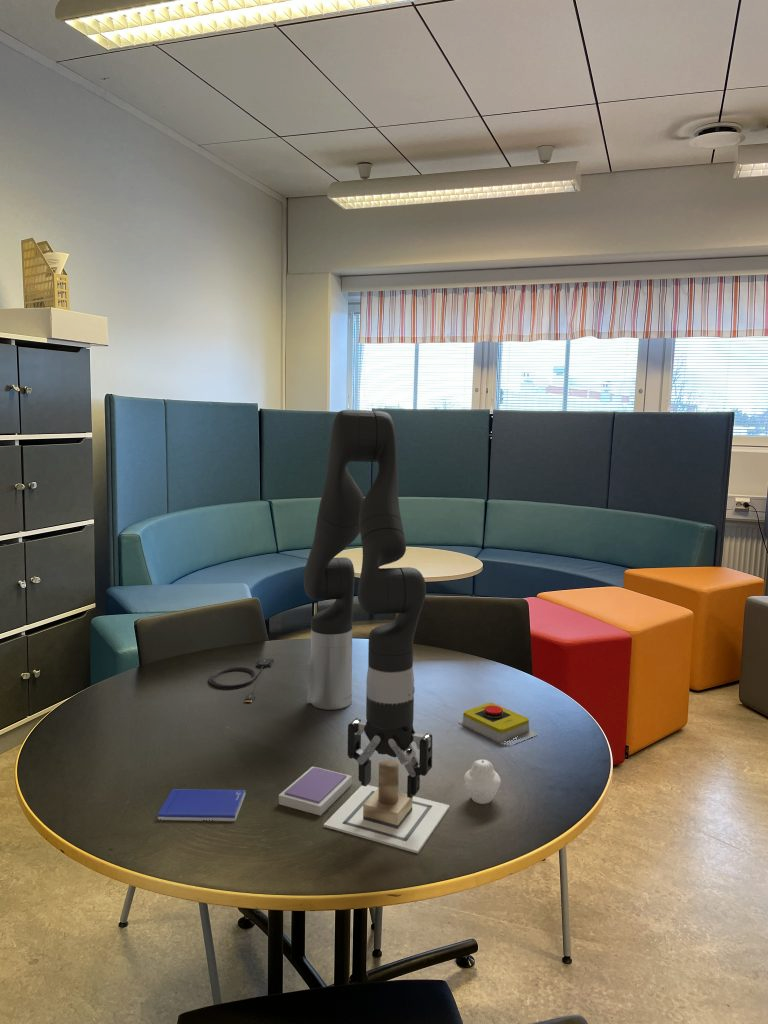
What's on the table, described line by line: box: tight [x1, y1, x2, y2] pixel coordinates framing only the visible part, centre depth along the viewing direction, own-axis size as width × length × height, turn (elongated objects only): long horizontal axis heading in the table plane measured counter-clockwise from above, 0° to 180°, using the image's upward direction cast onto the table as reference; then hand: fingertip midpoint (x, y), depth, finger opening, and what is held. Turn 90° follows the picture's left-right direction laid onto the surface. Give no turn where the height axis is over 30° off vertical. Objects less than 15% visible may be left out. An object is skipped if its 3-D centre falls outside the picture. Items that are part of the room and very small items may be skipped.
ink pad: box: [278, 766, 353, 816], centre depth 121 cm, size 8×11×2 cm
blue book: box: [157, 788, 246, 822], centre depth 117 cm, size 2×8×12 cm
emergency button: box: [457, 702, 538, 746], centre depth 148 cm, size 9×4×15 cm
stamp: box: [363, 759, 413, 829], centre depth 114 cm, size 6×6×9 cm
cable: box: [208, 657, 275, 704], centre depth 174 cm, size 14×28×2 cm, turn 179°
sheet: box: [323, 784, 451, 854], centre depth 114 cm, size 16×14×1 cm
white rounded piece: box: [463, 759, 502, 805], centre depth 120 cm, size 6×6×7 cm
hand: (388, 789), depth 114 cm, fingers open, 7 cm apart
